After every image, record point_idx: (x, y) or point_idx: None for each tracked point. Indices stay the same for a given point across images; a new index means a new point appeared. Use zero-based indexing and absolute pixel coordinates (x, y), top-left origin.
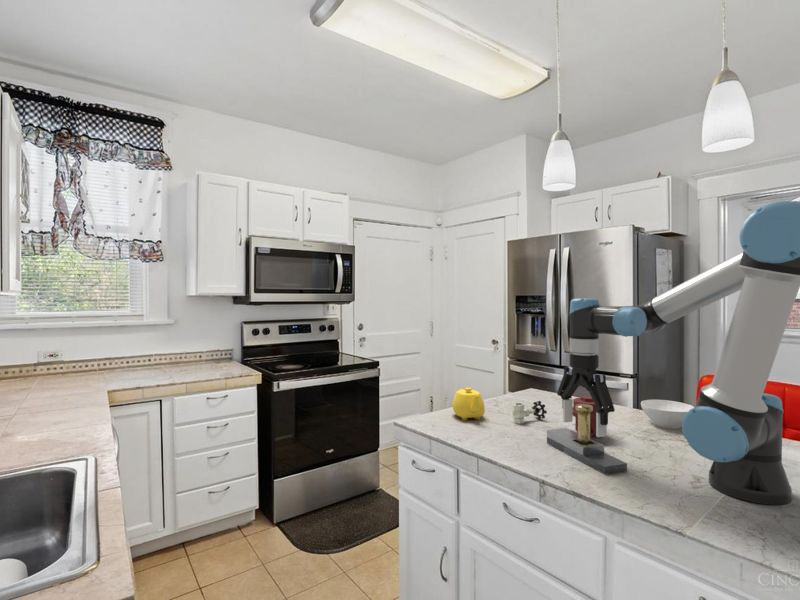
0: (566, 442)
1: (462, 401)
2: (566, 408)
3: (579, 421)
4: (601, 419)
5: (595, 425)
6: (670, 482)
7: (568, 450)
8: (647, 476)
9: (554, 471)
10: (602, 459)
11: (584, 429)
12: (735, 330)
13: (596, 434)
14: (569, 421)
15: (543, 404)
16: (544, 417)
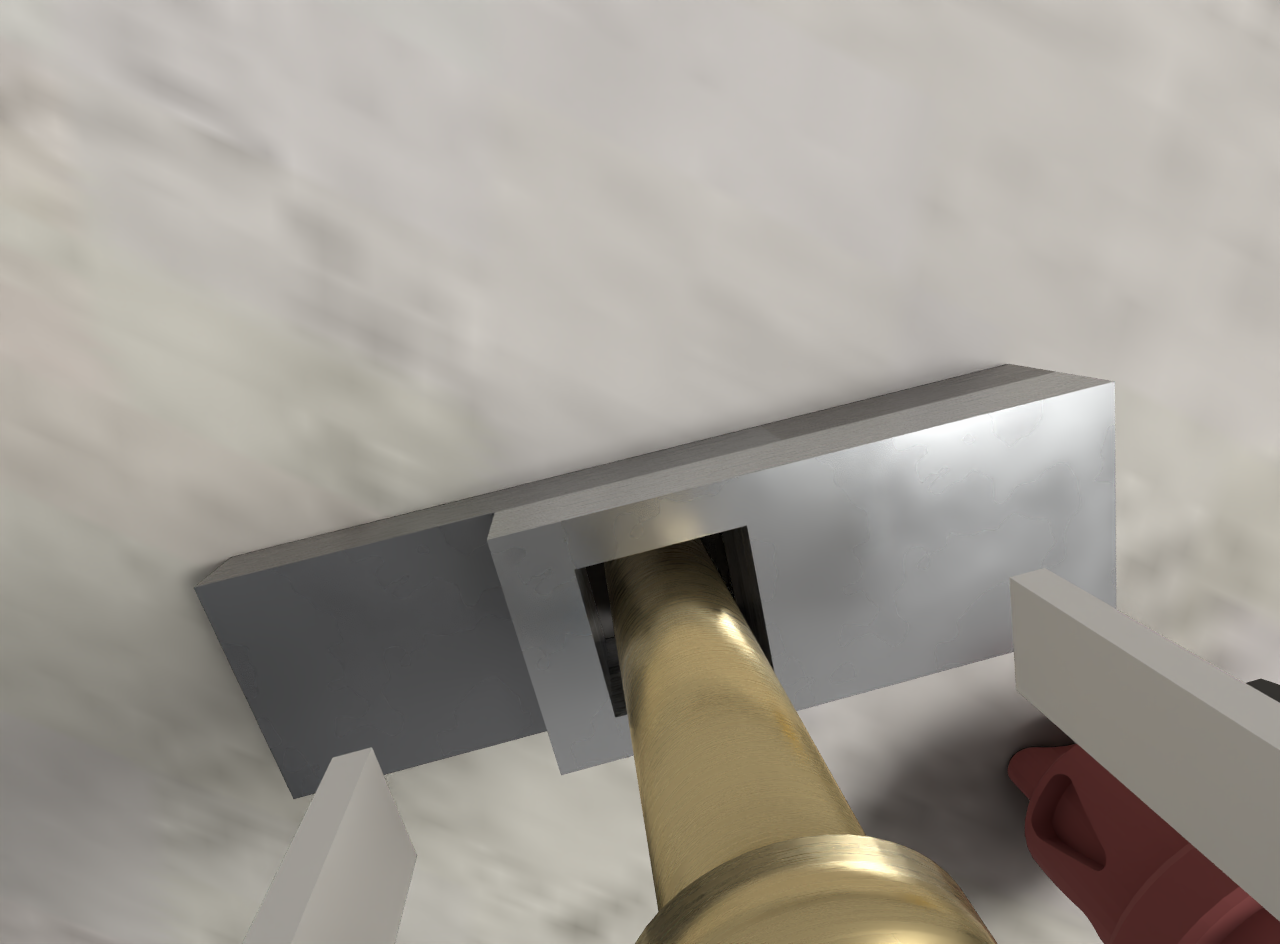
0: (754, 461)
1: None
2: (1201, 736)
3: (712, 725)
4: None
5: (1081, 901)
6: (119, 932)
7: (704, 451)
8: (221, 841)
9: (283, 108)
10: (386, 642)
11: (636, 706)
12: None
13: (355, 768)
14: (1017, 651)
15: None
16: None
